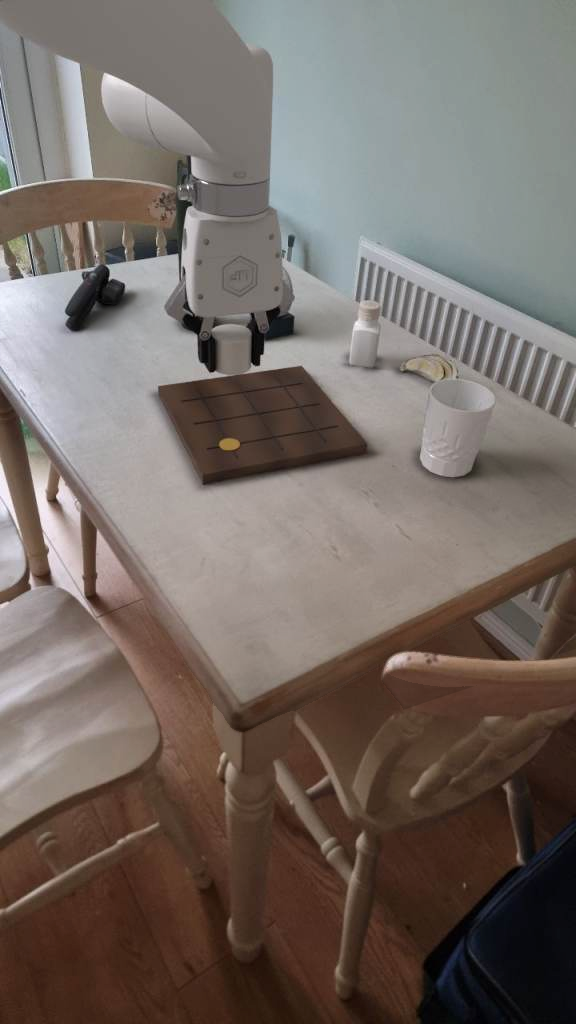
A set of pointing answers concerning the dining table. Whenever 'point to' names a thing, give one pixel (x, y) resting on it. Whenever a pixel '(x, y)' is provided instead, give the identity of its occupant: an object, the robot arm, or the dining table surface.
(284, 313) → the watch
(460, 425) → the white cup
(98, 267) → the can opener
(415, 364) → the oyster shell
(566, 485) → the dining table surface
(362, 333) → the pepper shaker
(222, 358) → the white cylinder
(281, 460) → the board
